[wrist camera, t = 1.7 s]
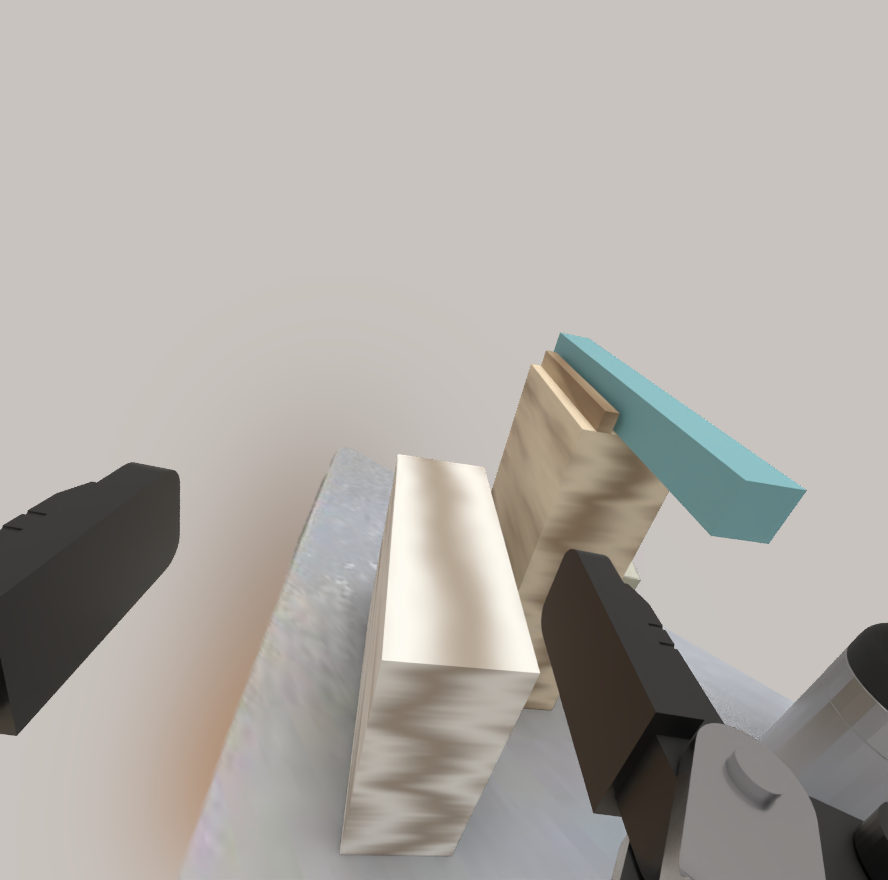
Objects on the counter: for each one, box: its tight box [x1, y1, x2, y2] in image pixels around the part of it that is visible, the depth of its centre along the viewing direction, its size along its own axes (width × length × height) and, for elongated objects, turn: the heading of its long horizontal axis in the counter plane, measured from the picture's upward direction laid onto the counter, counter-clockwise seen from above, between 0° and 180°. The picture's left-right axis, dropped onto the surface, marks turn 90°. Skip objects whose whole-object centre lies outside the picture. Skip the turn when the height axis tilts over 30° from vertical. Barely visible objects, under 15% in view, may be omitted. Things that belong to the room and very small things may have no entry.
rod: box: [554, 333, 807, 544], centre depth 30 cm, size 3×26×3 cm, turn 3°
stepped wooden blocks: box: [339, 351, 669, 856], centre depth 35 cm, size 19×25×32 cm
